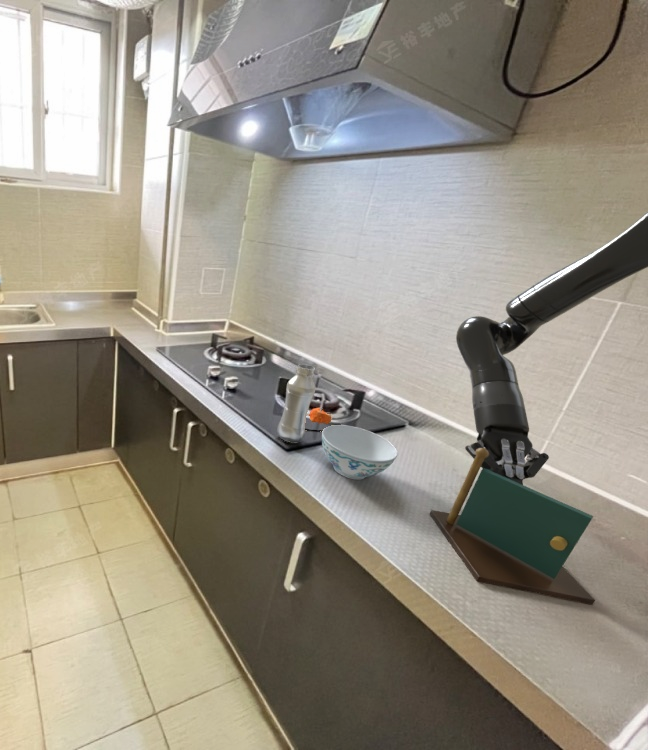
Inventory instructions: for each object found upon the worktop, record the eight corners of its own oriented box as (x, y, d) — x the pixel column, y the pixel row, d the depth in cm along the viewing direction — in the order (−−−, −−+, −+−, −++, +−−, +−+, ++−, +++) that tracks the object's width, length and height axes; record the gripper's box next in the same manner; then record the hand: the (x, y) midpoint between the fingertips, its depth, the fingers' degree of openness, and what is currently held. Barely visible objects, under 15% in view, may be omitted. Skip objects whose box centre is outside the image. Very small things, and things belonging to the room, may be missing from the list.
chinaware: (309, 447, 97) (316, 420, 94) (373, 458, 94) (383, 431, 91) (321, 484, 83) (330, 453, 80) (397, 498, 80) (409, 466, 78)
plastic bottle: (302, 449, 96) (322, 373, 88) (274, 442, 98) (291, 368, 90) (302, 437, 101) (321, 365, 94) (275, 431, 103) (291, 360, 96)
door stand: (520, 530, 74) (562, 453, 68) (592, 605, 59) (654, 515, 53) (429, 513, 76) (461, 438, 70) (476, 581, 62) (523, 493, 56)
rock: (329, 413, 117) (333, 400, 115) (348, 434, 105) (353, 420, 104) (290, 410, 116) (293, 397, 115) (305, 430, 105) (308, 416, 103)
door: (556, 576, 62) (593, 516, 58) (551, 583, 61) (589, 522, 56) (458, 522, 72) (484, 467, 68) (452, 527, 71) (478, 472, 67)
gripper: (474, 397, 73) (488, 490, 66) (553, 408, 71) (576, 505, 64) (449, 410, 80) (459, 496, 73) (521, 420, 78) (538, 510, 71)
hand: (514, 500), depth 69 cm, fingers closed
